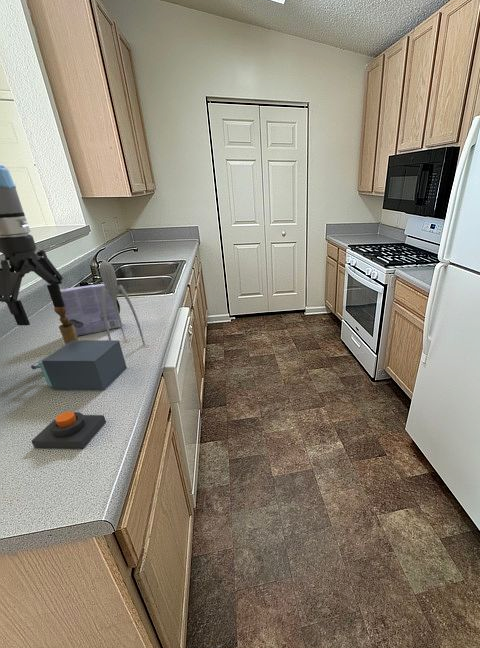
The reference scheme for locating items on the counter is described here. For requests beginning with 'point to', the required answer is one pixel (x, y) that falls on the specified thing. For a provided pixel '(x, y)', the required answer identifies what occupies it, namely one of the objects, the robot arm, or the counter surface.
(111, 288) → the juicer
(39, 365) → the drawer
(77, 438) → the block
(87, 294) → the cake pan box
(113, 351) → the dark grey box
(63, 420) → the button
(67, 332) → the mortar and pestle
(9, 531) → the counter surface
